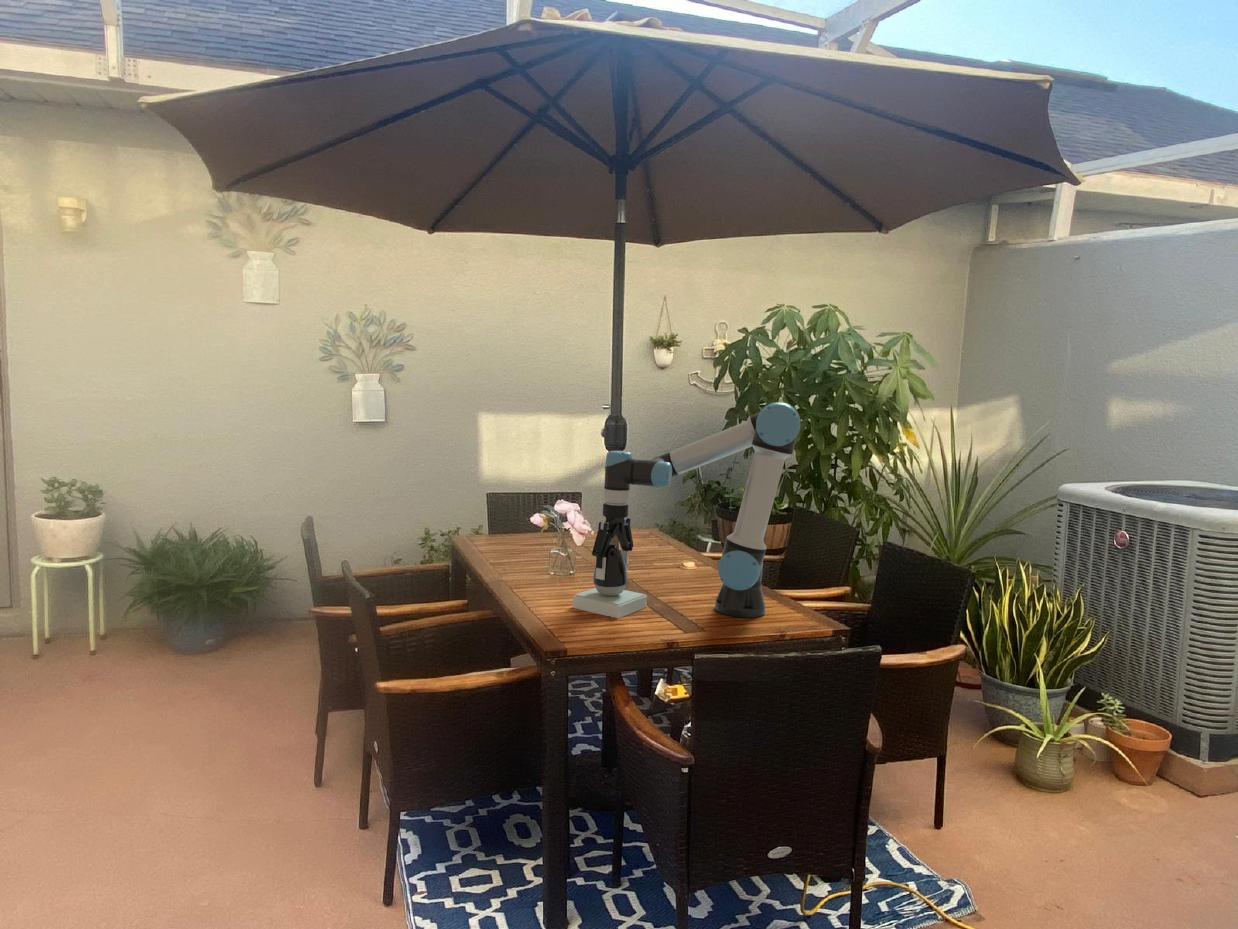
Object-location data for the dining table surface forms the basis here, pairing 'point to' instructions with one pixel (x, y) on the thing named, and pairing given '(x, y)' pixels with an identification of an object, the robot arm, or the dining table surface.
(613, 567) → the black grey egg speaker
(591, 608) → the plinth
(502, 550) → the dining table surface
